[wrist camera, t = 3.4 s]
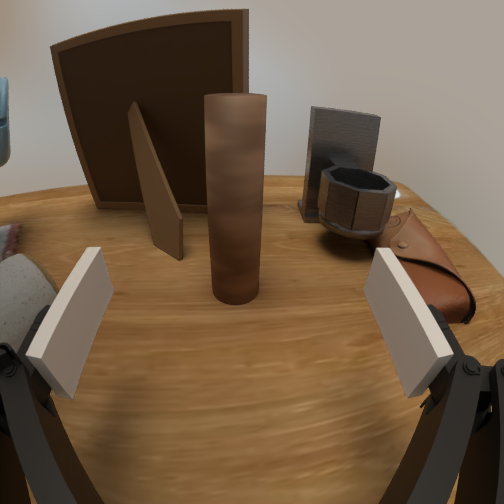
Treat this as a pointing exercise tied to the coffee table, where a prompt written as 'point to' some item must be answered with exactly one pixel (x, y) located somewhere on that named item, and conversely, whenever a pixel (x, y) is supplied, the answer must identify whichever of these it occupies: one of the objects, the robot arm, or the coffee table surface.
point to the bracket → (345, 175)
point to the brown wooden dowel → (235, 191)
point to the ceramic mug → (22, 296)
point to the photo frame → (150, 109)
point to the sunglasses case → (427, 267)
